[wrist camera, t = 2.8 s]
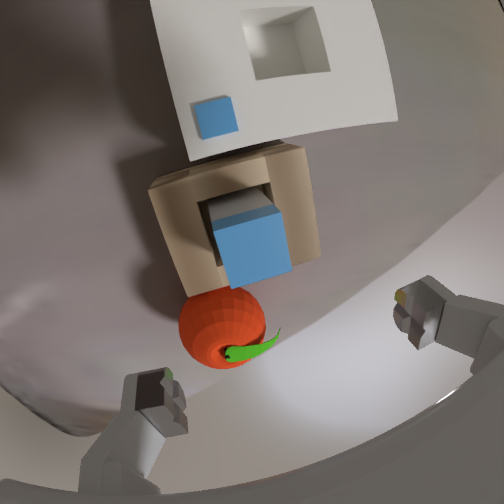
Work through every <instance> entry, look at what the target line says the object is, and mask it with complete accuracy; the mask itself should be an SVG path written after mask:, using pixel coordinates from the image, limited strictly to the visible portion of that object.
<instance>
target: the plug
mask: <svg viewBox="0 0 504 504" xmlns="http://www.w3.org/2000/svg"><path fill="white" fill-rule="evenodd" d="M207 203H208V208H209V213H210V218H211V223H212V228H213V232H214V236H215V239H216V242H217V245H218V249H219V252H220V255H221V258H222V262H223V265H224V268H225V271H226V274H227V277H228V281H229V284H230V287H231V289H234V288H237V287H240V286H244V285H247V284H250V283H254V282H257V281H260V280H264V279H267V278H270V277H273V276H277V275H280V274H283V273H286V272H290V271H292V267H291V261H290V256H289V250H288V245H287V239H286V234H285V229H284V223H283V218H282V213H281V211H280V210H279V209H278V208H277V207H276V206H275V205H274V204H273V203H272V202H271V201H270V200H269V199H268V198H267V197H266V196H265V195H264V194H263V193H262V192H261V191H260V190H259V189H258V188H257V187H256V186H252V187H248V188H245V189H241V190H237V191H234V192H230V193H227V194H223V195H220V196H216V197H213V198H209V199H207Z"/></svg>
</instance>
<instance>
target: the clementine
mask: <svg viewBox="0 0 504 504" xmlns="http://www.w3.org/2000/svg"><path fill="white" fill-rule="evenodd" d="M280 328H281V327H280ZM265 330H266V325H265V318H264V312H263V310H262V309H261V307H260V305H259V303H258V302H257V300H256V299H255V298H254V297H253V296H252V295H251V294H250V293H249V292H248V291H246V290H244V289H242V288H240V287H237V288H234V289H231V287H230V285H228V286H225V287H222V288H218V289H215V290H211V291H208V292H204V293H201V294H197V295H194V296H190V297H189V298H188V300H187V301H186V303H185V304H184V305H183V307H182V310H181V313H180V317H179V334H180V338H181V341H182V343H183V346H184V347H185V348H186V350H187V351H188V353H189V354H190V355H191V356H192V357H193V358H194V359H195V360H197V361H198V362H200V363H202V364H204V365H206V366H208V367H211V368H216V369H229V368H234V367H237V366H240V365H242V364H244V363H246V362H247V361H249V360H250V359H251V358H253V357H255V356H257V355H260V354H261V353H263V352H264V351H266V350H267V349H268V348H270V347H271V346H272V345H273V344H274V343H275V341H276V340H277V338H278V336H279V332H280V329H279V332H278V335H277V336H276V337H274V338H273V339H272V340H269V341H267V342H264V343H263V339H264V335H265Z"/></svg>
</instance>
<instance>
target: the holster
mask: <svg viewBox="0 0 504 504" xmlns="http://www.w3.org/2000/svg"><path fill="white" fill-rule="evenodd" d="M252 186H256V187H257V188H258V189H259V190H260V191H261V192H262V193H263V194H264V195H265V196H266V197H267V198H268V199H269V200H270V201H271V202H272V203H273V204H274V205H275V206H276V207H277V208H278V209H279V210H280V211H281V213H282V218H283V223H284V229H285V234H286V239H287V245H288V250H289V256H290V261H291V266H294V265H297V264H301V263H304V262H307V261H310V260H313V259H317V258H320V257H321V252H320V244H319V236H318V228H317V221H316V214H315V207H314V200H313V194H312V187H311V181H310V175H309V169H308V164H307V158H306V152H305V148H304V147H300V146H296V145H292V144H288V143H283V144H278V145H273V146H269V147H265V148H260V149H256V150H252V151H248V152H244V153H240V154H236V155H232V156H228V157H225V158H221V159H217V160H214V161H210V162H206V163H203V164H200V165H196V166H193V167H189V168H186V169H183V170H180V171H176V172H173V173H170V174H167V175H164V176H161V177H158V178H155V180H154V181H153V183H152V184H151V186H150V187H149V189H148V193H149V196H150V199H151V202H152V205H153V208H154V210H155V213H156V216H157V219H158V222H159V225H160V227H161V230H162V233H163V236H164V238H165V241H166V244H167V246H168V249H169V251H170V254H171V257H172V259H173V262H174V264H175V267H176V269H177V272H178V274H179V277H180V279H181V282H182V284H183V287H184V289H185V292H186V294H187V296H188V297H190V296H194V295H197V294H201V293H204V292H208V291H211V290H215V289H218V288H222V287H225V286H228V285H230V284H229V281H228V277H227V274H226V271H225V268H224V265H223V262H222V258H221V255H220V252H219V249H218V245H217V242H216V239H215V236H214V232H213V228H212V223H211V218H210V213H209V208H208V203H207V199H209V198H213V197H216V196H220V195H223V194H227V193H230V192H234V191H237V190H241V189H245V188H248V187H252Z"/></svg>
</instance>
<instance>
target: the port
mask: <svg viewBox="0 0 504 504" xmlns="http://www.w3.org/2000/svg"><path fill="white" fill-rule="evenodd" d="M150 4H151V9H152V13H153V18H154V22H155V27H156V31H157V35H158V40H159V44H160V48H161V52H162V57H163V61H164V65H165V69H166V73H167V77H168V81H169V85H170V89H171V93H172V97H173V101H174V104H175V108H176V112H177V116H178V120H179V123H180V127H181V131H182V134H183V138H184V142H185V145H186V149H187V153H188V156H189V160H190V162H191V161H194V160H197V159H201V158H204V157H208V156H211V155H215V154H219V153H222V152H226V151H230V150H234V149H238V148H242V147H246V146H250V145H254V144H259V143H263V142H267V141H272V140H276V139H281V138H286V137H291V136H296V135H301V134H306V133H312V132H318V131H323V130H329V129H336V128H342V127H349V126H356V125H364V124H372V123H381V122H391V121H398V116H397V109H396V102H395V96H394V90H393V85H392V79H391V74H390V69H389V65H388V60H387V56H386V52H385V48H384V44H383V40H382V36H381V32H380V29H379V25H378V22H377V18H376V15H375V12H374V9H373V6H372V3H371V0H150Z"/></svg>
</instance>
